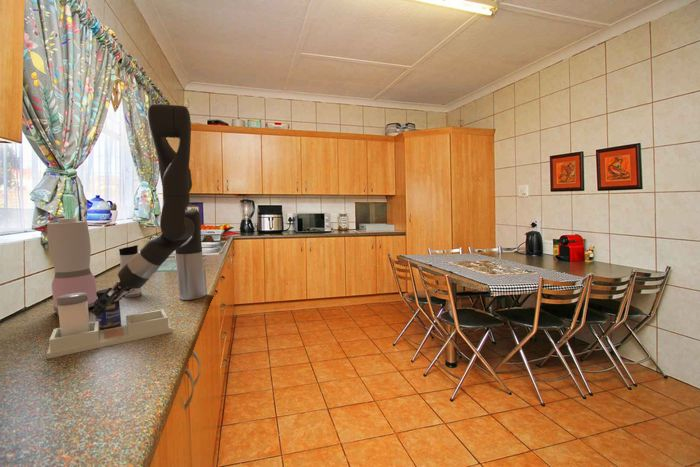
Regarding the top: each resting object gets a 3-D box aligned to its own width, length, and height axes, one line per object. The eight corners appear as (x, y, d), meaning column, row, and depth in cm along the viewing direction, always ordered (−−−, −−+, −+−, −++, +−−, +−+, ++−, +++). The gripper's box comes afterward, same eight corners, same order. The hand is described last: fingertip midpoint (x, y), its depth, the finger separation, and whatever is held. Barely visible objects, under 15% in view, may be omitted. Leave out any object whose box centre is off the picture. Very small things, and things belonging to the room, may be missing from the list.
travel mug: (136, 297, 139) (131, 246, 137) (119, 297, 139) (114, 247, 137) (145, 293, 145) (141, 244, 143) (129, 293, 145) (125, 244, 143)
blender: (90, 312, 121) (80, 218, 118) (47, 317, 117) (35, 220, 114) (106, 300, 136) (98, 216, 132) (68, 304, 132) (58, 218, 129)
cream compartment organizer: (166, 321, 109) (163, 279, 108) (172, 332, 100) (168, 286, 99) (52, 344, 94) (46, 295, 93) (47, 358, 85) (40, 304, 84)
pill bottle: (109, 331, 102) (105, 293, 101) (91, 330, 103) (87, 293, 102) (126, 323, 108) (123, 288, 107) (109, 322, 109) (106, 287, 108)
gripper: (141, 256, 112) (104, 295, 112) (116, 265, 98) (74, 309, 98) (160, 272, 113) (124, 311, 113) (138, 282, 99) (97, 327, 99)
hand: (101, 310), depth 105 cm, fingers closed on pill bottle, 6 cm apart
